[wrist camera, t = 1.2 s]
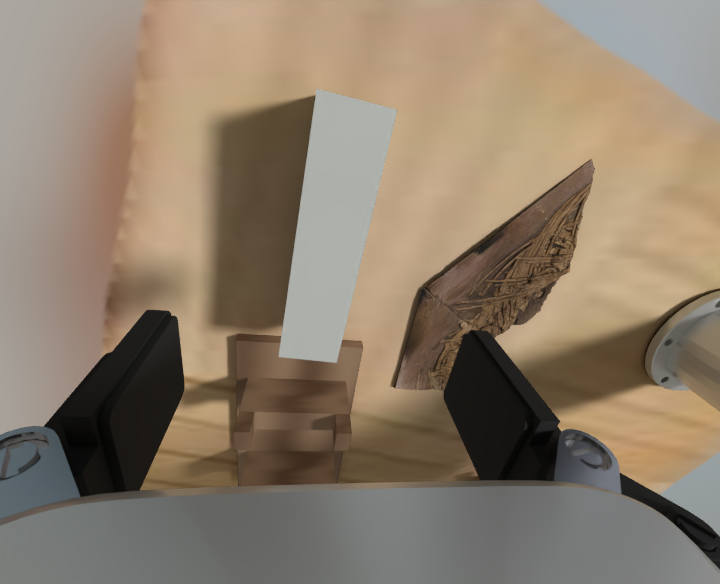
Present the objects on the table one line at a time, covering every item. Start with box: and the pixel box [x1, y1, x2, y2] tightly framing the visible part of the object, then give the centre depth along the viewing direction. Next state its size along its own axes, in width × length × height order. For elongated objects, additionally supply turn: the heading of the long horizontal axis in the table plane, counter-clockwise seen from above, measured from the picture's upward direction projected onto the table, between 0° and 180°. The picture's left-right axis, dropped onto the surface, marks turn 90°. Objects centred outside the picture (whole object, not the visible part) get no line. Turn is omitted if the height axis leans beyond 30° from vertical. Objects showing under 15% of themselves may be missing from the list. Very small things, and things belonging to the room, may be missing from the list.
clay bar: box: [279, 89, 397, 363], centre depth 23 cm, size 4×16×7 cm, turn 167°
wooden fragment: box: [394, 159, 595, 390], centre depth 30 cm, size 26×11×1 cm, turn 144°
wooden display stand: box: [234, 334, 363, 486], centre depth 32 cm, size 11×20×7 cm, turn 171°
